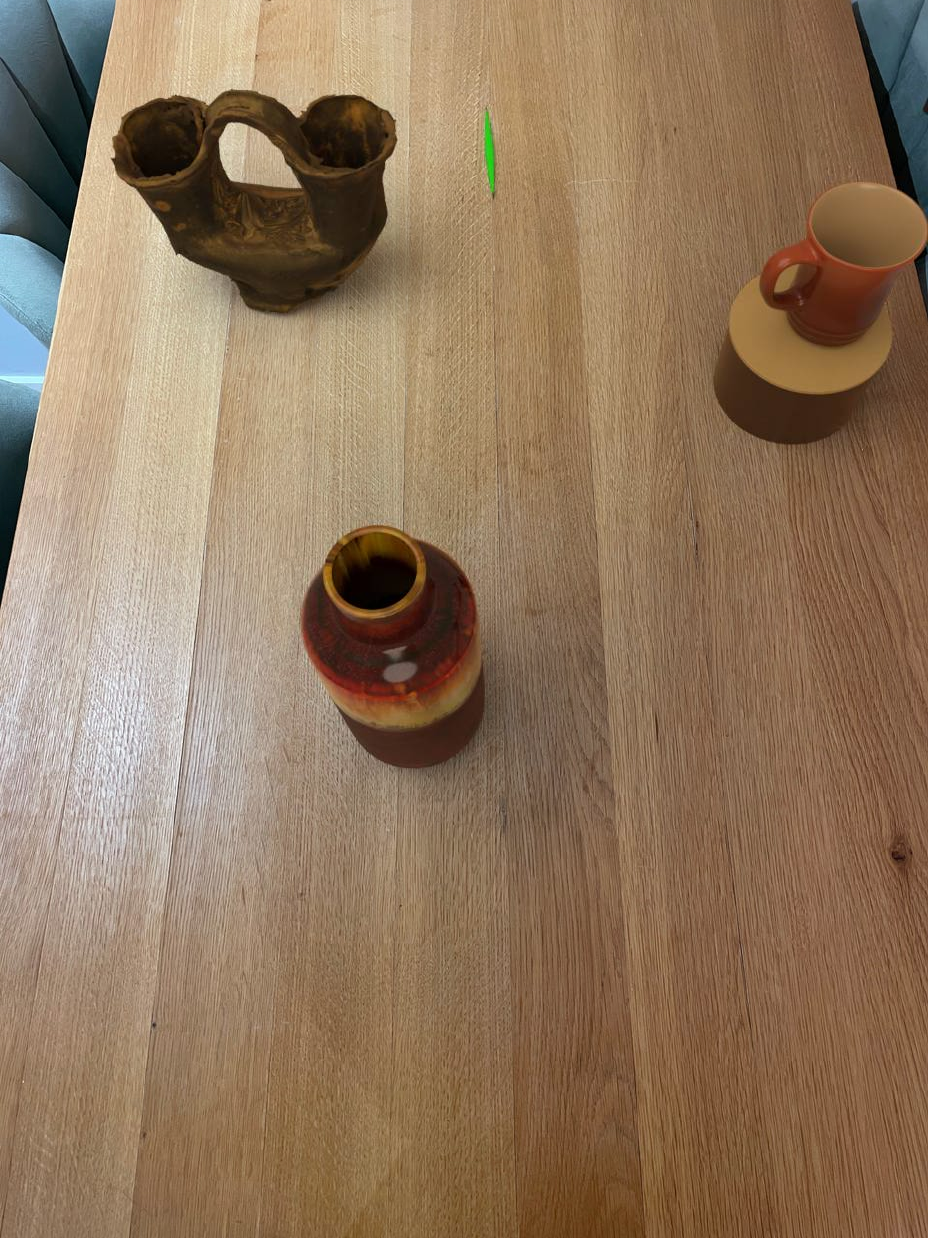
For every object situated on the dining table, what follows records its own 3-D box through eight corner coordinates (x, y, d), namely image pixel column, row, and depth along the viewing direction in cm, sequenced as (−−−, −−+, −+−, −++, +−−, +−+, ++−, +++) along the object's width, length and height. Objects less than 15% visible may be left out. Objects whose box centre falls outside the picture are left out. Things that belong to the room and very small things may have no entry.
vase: (332, 676, 78) (250, 524, 54) (456, 628, 79) (431, 457, 55) (377, 800, 73) (310, 694, 49) (508, 747, 75) (505, 618, 51)
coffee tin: (855, 329, 89) (886, 267, 81) (864, 450, 83) (898, 395, 76) (711, 322, 90) (728, 260, 82) (711, 441, 85) (730, 387, 77)
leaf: (489, 202, 97) (488, 196, 97) (481, 107, 103) (481, 100, 102) (497, 202, 97) (497, 195, 97) (490, 106, 103) (489, 99, 102)
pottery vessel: (421, 236, 96) (399, 52, 77) (412, 322, 92) (387, 148, 73) (180, 235, 97) (104, 54, 79) (161, 318, 93) (76, 148, 75)
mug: (850, 266, 81) (895, 168, 72) (898, 343, 78) (951, 251, 69) (721, 303, 81) (748, 208, 71) (763, 383, 77) (798, 294, 68)
